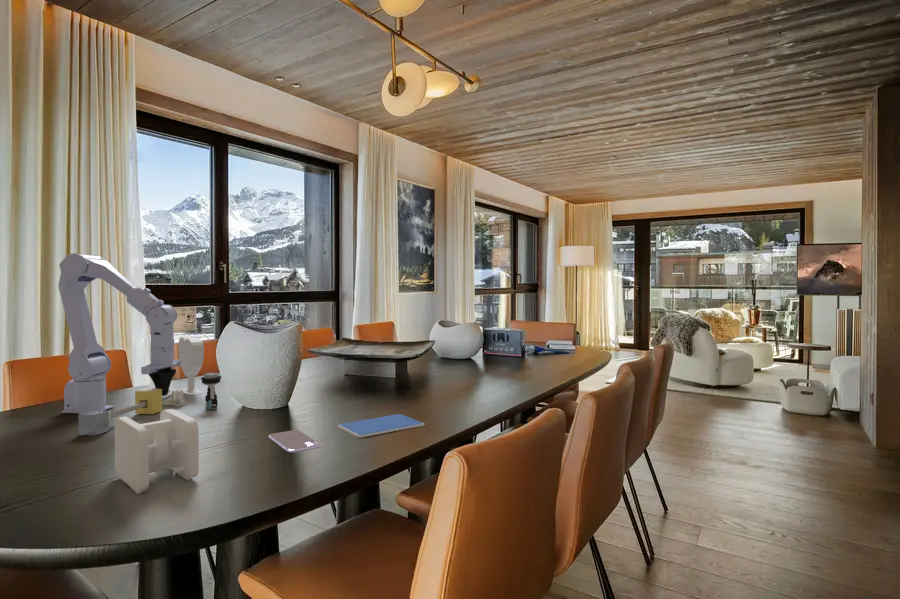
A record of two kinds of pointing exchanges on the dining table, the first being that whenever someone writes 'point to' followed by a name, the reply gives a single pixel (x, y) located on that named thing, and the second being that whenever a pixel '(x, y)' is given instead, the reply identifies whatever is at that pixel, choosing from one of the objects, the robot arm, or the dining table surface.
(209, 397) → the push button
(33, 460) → the dining table surface
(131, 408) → the rod
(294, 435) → the mobile phone
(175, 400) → the cable comb
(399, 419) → the tablet computer
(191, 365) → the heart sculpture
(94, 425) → the connector
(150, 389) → the matte pale yellow cube
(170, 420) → the cable organizer
